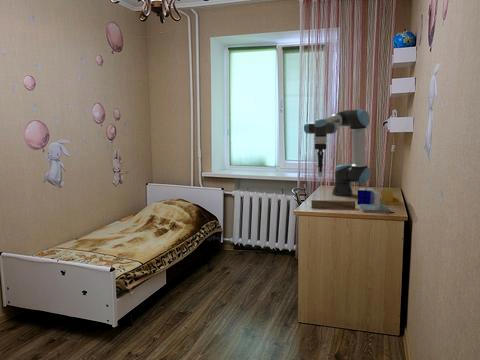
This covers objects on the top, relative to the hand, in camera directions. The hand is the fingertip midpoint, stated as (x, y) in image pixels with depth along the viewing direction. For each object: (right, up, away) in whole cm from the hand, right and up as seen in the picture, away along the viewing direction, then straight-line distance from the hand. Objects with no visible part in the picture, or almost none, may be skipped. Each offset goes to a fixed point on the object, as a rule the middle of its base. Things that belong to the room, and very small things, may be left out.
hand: (320, 175), depth 264 cm
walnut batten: (+9, -21, +1) cm, 23 cm away
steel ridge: (+34, -20, -5) cm, 40 cm away
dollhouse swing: (+51, -19, +14) cm, 56 cm away
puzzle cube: (+34, -19, +14) cm, 42 cm away
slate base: (+34, -22, -5) cm, 41 cm away
